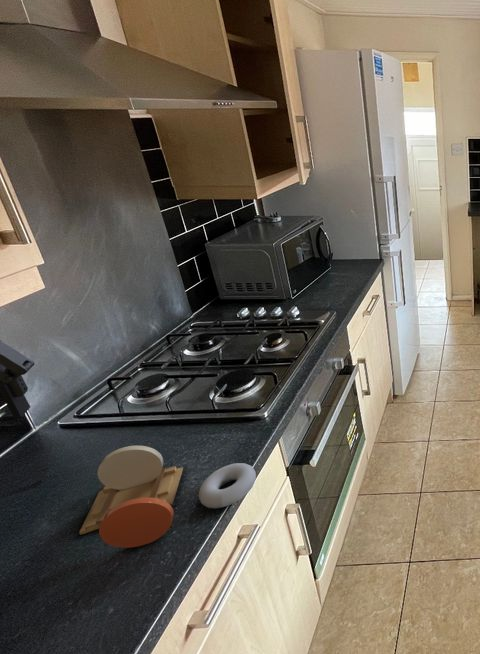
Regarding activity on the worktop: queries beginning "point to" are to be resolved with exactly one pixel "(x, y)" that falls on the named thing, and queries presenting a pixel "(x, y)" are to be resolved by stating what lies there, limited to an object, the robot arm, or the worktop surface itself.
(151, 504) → the terracotta coaster
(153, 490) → the coaster rack
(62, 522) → the worktop surface
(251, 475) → the donut
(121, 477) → the cream coaster
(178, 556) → the worktop surface
